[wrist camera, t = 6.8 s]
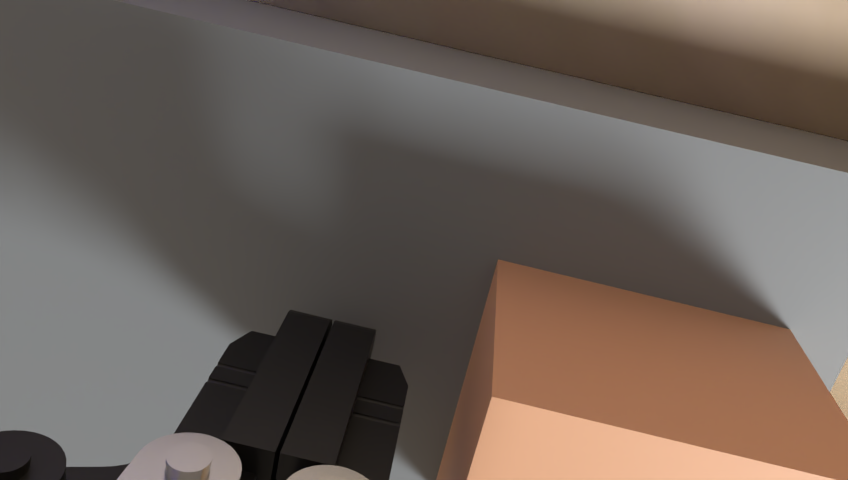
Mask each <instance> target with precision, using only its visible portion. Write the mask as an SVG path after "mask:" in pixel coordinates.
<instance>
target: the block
mask: <svg viewBox="0 0 848 480" xmlns="http://www.w3.org/2000/svg"><path fill="white" fill-rule="evenodd" d="M436 480H848V421H847V419H846V417H845V416H844V414H843V413H842V411H841V409H840V408H839V406H838V405H837V403H836V402H835V400H834V398H833V397H832V395H831V394H830V392H829V390H828V389H827V387H826V386H825V384H824V383H823V381H822V379H821V378H820V376H819V375H818V373H817V371H816V370H815V368H814V367H813V365H812V363H811V362H810V360H809V359H808V357H807V356H806V354H805V352H804V351H803V349H802V348H801V346H800V344H799V343H798V341H797V340H796V338H795V336H794V335H793V333H792V332H791V330H790V329H786V328H782V327H778V326H774V325H769V324H765V323H761V322H757V321H753V320H749V319H744V318H740V317H736V316H732V315H728V314H724V313H719V312H715V311H711V310H707V309H703V308H699V307H694V306H690V305H686V304H682V303H678V302H674V301H669V300H665V299H661V298H657V297H653V296H649V295H644V294H640V293H636V292H632V291H628V290H624V289H619V288H615V287H611V286H607V285H603V284H599V283H594V282H590V281H586V280H582V279H578V278H574V277H569V276H565V275H561V274H557V273H553V272H549V271H544V270H540V269H536V268H532V267H528V266H524V265H519V264H515V263H511V262H507V261H503V260H499V259H498V261H497V265H496V268H495V272H494V276H493V279H492V283H491V286H490V290H489V293H488V297H487V300H486V304H485V308H484V311H483V315H482V318H481V322H480V325H479V329H478V332H477V336H476V340H475V343H474V347H473V350H472V354H471V357H470V361H469V364H468V368H467V372H466V375H465V379H464V382H463V386H462V389H461V393H460V397H459V400H458V404H457V407H456V411H455V414H454V418H453V421H452V425H451V429H450V432H449V436H448V439H447V443H446V446H445V450H444V453H443V457H442V461H441V464H440V468H439V471H438V475H437V478H436Z"/></svg>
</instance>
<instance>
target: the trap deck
mask: <svg viewBox="0 0 848 480" xmlns="http://www.w3.org/2000/svg"><path fill="white" fill-rule="evenodd" d="M498 259H499V260H503V261H507V262H511V263H515V264H519V265H524V266H528V267H532V268H536V269H540V270H544V271H549V272H553V273H557V274H561V275H565V276H569V277H574V278H578V279H582V280H586V281H590V282H594V283H599V284H603V285H607V286H611V287H615V288H619V289H624V290H628V291H632V292H636V293H640V294H644V295H649V296H653V297H657V298H661V299H665V300H669V301H674V302H678V303H682V304H686V305H690V306H694V307H699V308H703V309H707V310H711V311H715V312H719V313H724V314H728V315H732V316H736V317H740V318H744V319H749V320H753V321H757V322H761V323H765V324H769V325H774V326H778V327H782V328H786V329H790V330H791V332H792V333H793V335H794V336H795V338H796V340H797V341H798V343H799V344H800V346H801V348H802V349H803V351H804V352H805V354H806V356H807V357H808V359H809V360H810V362H811V363H812V365H813V367H814V368H815V370H816V371H817V373H818V375H819V376H820V378H821V379H822V381H823V383H824V384H825V386H826V387H827V389H828V390H829V392H830V391H831V389H832V387H833V385H834V383H835V381H836V379H837V377H838V375H839V373H840V371H841V369H842V367H843V365H844V363H845V361H846V359H847V357H848V141H845V140H841V139H837V138H832V137H828V136H824V135H820V134H815V133H811V132H807V131H803V130H798V129H794V128H790V127H786V126H781V125H777V124H773V123H769V122H764V121H760V120H756V119H752V118H747V117H743V116H739V115H735V114H730V113H726V112H722V111H718V110H713V109H709V108H705V107H701V106H696V105H692V104H688V103H683V102H679V101H675V100H671V99H666V98H662V97H658V96H654V95H649V94H645V93H641V92H637V91H632V90H628V89H624V88H620V87H615V86H611V85H607V84H603V83H598V82H594V81H590V80H586V79H581V78H577V77H573V76H569V75H564V74H560V73H556V72H551V71H547V70H543V69H539V68H534V67H530V66H526V65H522V64H517V63H513V62H509V61H505V60H500V59H496V58H492V57H488V56H483V55H479V54H475V53H471V52H466V51H462V50H458V49H454V48H449V47H445V46H441V45H437V44H432V43H428V42H424V41H419V40H415V39H411V38H407V37H402V36H398V35H394V34H390V33H385V32H381V31H377V30H373V29H368V28H364V27H360V26H356V25H351V24H347V23H343V22H339V21H334V20H330V19H326V18H322V17H317V16H313V15H309V14H305V13H300V12H296V11H292V10H287V9H283V8H279V7H275V6H270V5H266V4H262V3H258V2H253V1H249V0H0V431H10V430H21V431H30V432H35V433H39V434H42V435H45V436H47V437H49V438H51V439H52V440H54V441H55V442H57V443H58V444H59V445H60V446H61V447H62V449H63V451H64V452H65V456H66V467H106V466H118V465H125V464H129V463H130V462H131V461H132V460H133V459H134V457H135V456H136V455H137V454H138V452H139V451H140V450H141V449H142V448H143V447H144V446H146V445H147V444H148V443H150V442H152V441H154V440H156V439H157V438H160V437H163V436H166V435H170V434H174V432H175V431H176V429H177V428H178V426H179V424H180V423H181V421H182V420H183V418H184V416H185V415H186V413H187V411H188V410H189V408H190V407H191V405H192V403H193V402H194V400H195V399H196V397H197V395H198V394H199V392H200V391H201V389H202V387H203V386H204V384H205V383H206V382H207V381H208V378H209V376H210V374H211V373H212V371H213V370H214V368H215V366H217V365H218V362H219V360H220V358H221V357H222V355H223V354H224V352H225V350H226V349H227V347H228V345H229V344H230V343H232V342H234V341H235V340H237V339H239V338H240V337H242V336H244V335H245V334H247V333H249V332H250V331H255V332H259V333H264V334H268V335H272V336H276V334H277V332H278V330H279V328H280V326H281V325H282V323H283V321H284V319H285V317H286V315H287V313H288V312H289V310H294V311H299V312H303V313H307V314H311V315H316V316H320V317H324V318H328V319H332V325H333V323H334V321H335V320H337V321H342V322H346V323H350V324H354V325H358V326H363V327H367V328H371V329H375V330H376V336H375V341H374V345H373V350H372V355H371V359H374V360H378V361H383V362H387V363H391V364H395V365H399V366H400V367H401V370H402V372H403V375H404V377H405V379H406V382H407V384H408V390H407V395H406V400H405V405H404V409H403V415H402V419H401V424H400V429H399V434H398V439H397V444H396V449H395V454H394V458H393V463H392V468H391V473H390V478H389V480H436V478H437V475H438V471H439V468H440V464H441V461H442V457H443V453H444V450H445V446H446V443H447V439H448V436H449V432H450V429H451V425H452V421H453V418H454V414H455V411H456V407H457V404H458V400H459V397H460V393H461V389H462V386H463V382H464V379H465V375H466V372H467V368H468V364H469V361H470V357H471V354H472V350H473V347H474V343H475V340H476V336H477V332H478V329H479V325H480V322H481V318H482V315H483V311H484V308H485V304H486V300H487V297H488V293H489V290H490V286H491V283H492V279H493V276H494V272H495V268H496V265H497V261H498Z"/></svg>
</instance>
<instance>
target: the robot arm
mask: <svg viewBox="0 0 848 480" xmlns="http://www.w3.org/2000/svg"><path fill="white" fill-rule="evenodd" d="M375 336H376V330H375V329H371V328H367V327H363V326H358V325H354V324H350V323H346V322H342V321H337V320H335V321H334V323H333V325H332V319H328V318H324V317H320V316H316V315H311V314H307V313H303V312H299V311H294V310H289V312H288V313H287V315H286V317H285V319H284V321H283V323H282V325H281V326H280V328H279V330H278V332H277V334H276V336H272V335H268V334H264V333H259V332H255V331H250V332H249V333H247V334H245V335H244V336H242V337H240V338H239V339H237V340H235V341H234V342H232V343H230V344H229V345H228V347H227V349H226V350H225V352H224V354H223V355H222V357H221V358H220V360H219V362H218V365H217V366H215V368H214V370H213V371H212V373H211V374H210V376H209V378H208V381H207V382H206V383H205V384H204V386H203V387H202V389H201V391H200V392H199V394H198V395H197V397H196V399H195V400H194V402H193V403H192V405H191V407H190V408H189V410H188V411H187V413H186V415H185V416H184V418H183V420H182V421H181V423H180V424H179V426H178V428H177V429H176V431H175V432H174V434H170V435H166V436H163V437H160V438H157V439H156V440H154V441H152V442H150V443H148V444H147V445H146V446H144V447H143V448H142V449H141V450H140V451H139V452H138V454H137V455H136V456H135V457H134V459H133V460H132V461H131V462H130V463H129V464H125V465H118V466H106V467H66V456H65V452H64V451H63V449H62V447H61V446H60V445H59V444H58V443H57V442H55V441H54V440H52V439H51V438H49V437H47V436H45V435H42V434H39V433H35V432H30V431H21V430H10V431H0V480H389V478H390V473H391V468H392V463H393V458H394V454H395V449H396V444H397V439H398V434H399V429H400V424H401V419H402V415H403V409H404V405H405V400H406V395H407V390H408V384H407V382H406V379H405V377H404V375H403V372H402V370H401V367H400V366H399V365H395V364H391V363H387V362H383V361H378V360H374V359H371V355H372V350H373V345H374V341H375Z"/></svg>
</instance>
